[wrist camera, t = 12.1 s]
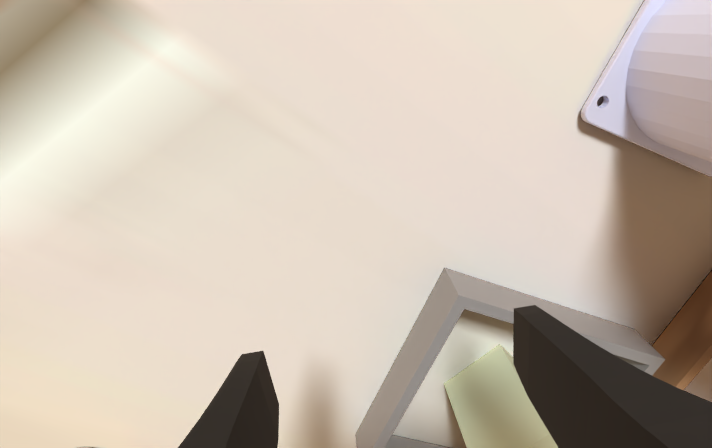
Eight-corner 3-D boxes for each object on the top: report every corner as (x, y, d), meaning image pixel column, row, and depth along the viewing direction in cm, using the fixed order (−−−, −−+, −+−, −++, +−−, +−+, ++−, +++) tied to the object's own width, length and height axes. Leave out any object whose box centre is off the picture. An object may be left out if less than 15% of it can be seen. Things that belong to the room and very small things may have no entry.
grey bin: (444, 267, 23) (458, 295, 20) (634, 329, 25) (665, 359, 23) (355, 434, 27) (359, 472, 25) (525, 471, 30) (543, 509, 27)
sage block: (537, 381, 27) (594, 474, 21) (482, 418, 27) (524, 516, 22) (499, 343, 25) (551, 433, 20) (443, 383, 26) (478, 479, 21)
